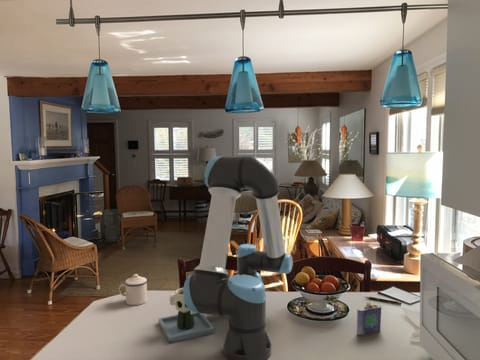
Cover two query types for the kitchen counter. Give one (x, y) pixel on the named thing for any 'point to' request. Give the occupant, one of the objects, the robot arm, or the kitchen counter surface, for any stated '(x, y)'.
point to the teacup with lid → (135, 290)
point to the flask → (368, 319)
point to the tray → (178, 334)
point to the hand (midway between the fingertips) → (180, 304)
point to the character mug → (182, 310)
